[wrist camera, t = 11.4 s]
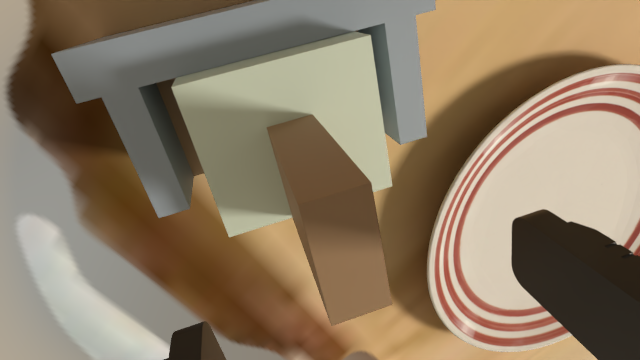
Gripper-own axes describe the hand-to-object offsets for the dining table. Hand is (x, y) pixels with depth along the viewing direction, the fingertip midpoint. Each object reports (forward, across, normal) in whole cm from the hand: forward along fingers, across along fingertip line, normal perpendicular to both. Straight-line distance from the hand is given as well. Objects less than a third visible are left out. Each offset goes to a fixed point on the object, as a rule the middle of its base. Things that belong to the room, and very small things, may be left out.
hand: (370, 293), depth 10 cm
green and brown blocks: (+14, 0, -1) cm, 15 cm away
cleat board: (+18, 0, -3) cm, 19 cm away
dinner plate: (+19, -22, +16) cm, 33 cm away
